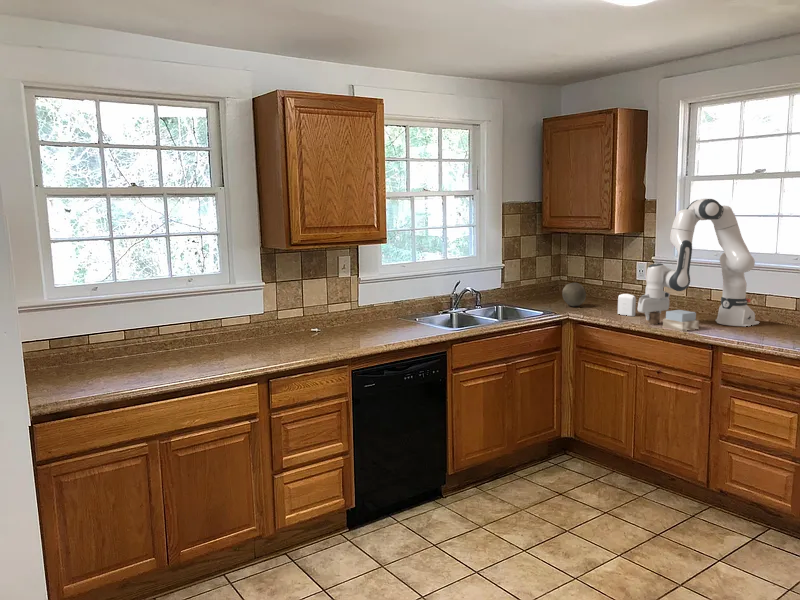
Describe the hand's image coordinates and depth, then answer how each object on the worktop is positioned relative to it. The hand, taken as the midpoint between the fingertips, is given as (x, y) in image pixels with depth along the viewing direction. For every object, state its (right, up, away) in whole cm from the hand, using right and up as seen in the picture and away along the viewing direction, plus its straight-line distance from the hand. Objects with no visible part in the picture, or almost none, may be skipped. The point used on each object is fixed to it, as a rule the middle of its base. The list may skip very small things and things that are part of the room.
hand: (652, 319), depth 343 cm
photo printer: (-5, +1, +25) cm, 26 cm away
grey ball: (-27, +6, +55) cm, 62 cm away
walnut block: (0, -2, 0) cm, 2 cm away
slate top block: (+9, 0, -14) cm, 16 cm away
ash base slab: (+9, -5, -13) cm, 17 cm away
